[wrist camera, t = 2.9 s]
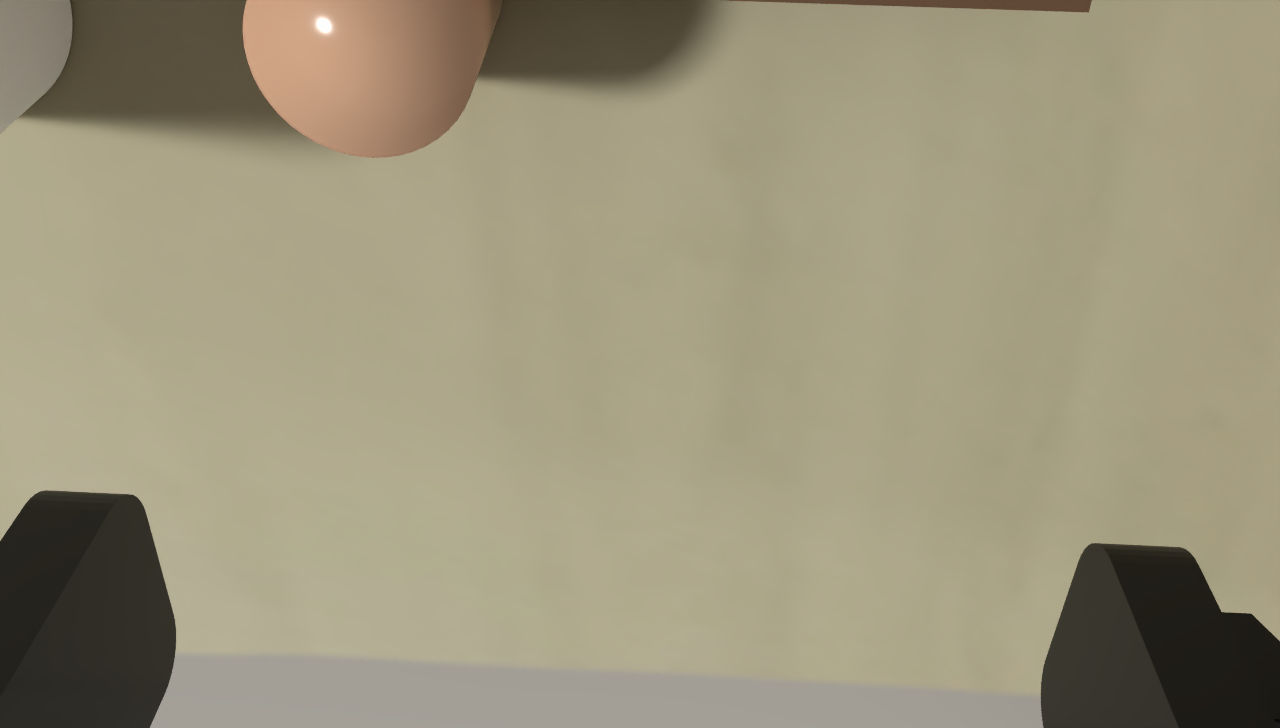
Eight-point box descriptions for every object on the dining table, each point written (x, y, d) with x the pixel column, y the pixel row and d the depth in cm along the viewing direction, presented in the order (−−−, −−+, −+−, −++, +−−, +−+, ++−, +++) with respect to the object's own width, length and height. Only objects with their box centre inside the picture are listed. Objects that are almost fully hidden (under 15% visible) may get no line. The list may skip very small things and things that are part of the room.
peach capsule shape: (289, -132, 34) (223, -72, 29) (500, -125, 34) (469, -64, 29) (316, 70, 38) (262, 153, 33) (508, 76, 38) (482, 161, 33)
